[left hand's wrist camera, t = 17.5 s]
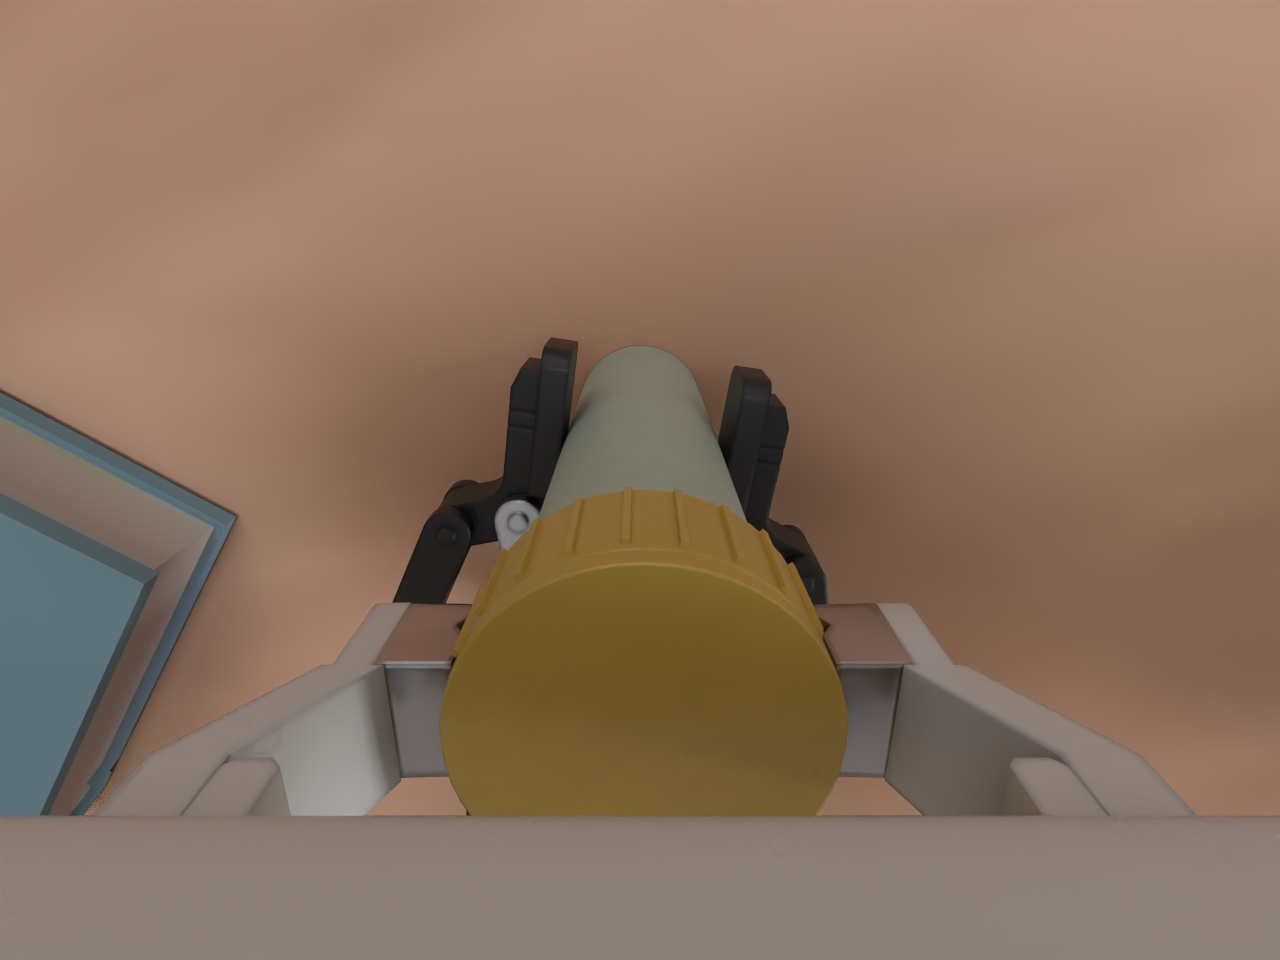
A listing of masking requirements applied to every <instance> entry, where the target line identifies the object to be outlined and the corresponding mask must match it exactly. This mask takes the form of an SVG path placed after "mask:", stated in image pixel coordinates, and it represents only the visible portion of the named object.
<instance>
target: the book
mask: <svg viewBox="0 0 1280 960" xmlns="http://www.w3.org/2000/svg"><path fill="white" fill-rule="evenodd" d="M235 518H236V517H235V516H233V515H231V514H230V513H228V512H226V511H224V510H222V509H220V508H218V507H216V506H214V505H213V504H211V503H209V502H207V501H205V500H203V499H201V498H199V497H197V496H195V495H194V494H192V493H190V492H188V491H186V490H184V489H182V488H180V487H178V486H177V485H175V484H173V483H171V482H169V481H167V480H165V479H163V478H161V477H159V476H158V475H156V474H154V473H152V472H150V471H148V470H146V469H144V468H142V467H141V466H139V465H137V464H135V463H133V462H131V461H129V460H127V459H125V458H124V457H122V456H120V455H118V454H116V453H114V452H112V451H110V450H108V449H106V448H105V447H103V446H101V445H99V444H97V443H95V442H93V441H91V440H89V439H88V438H86V437H84V436H82V435H80V434H78V433H76V432H74V431H72V430H71V429H69V428H67V427H65V426H63V425H61V424H59V423H57V422H55V421H53V420H52V419H50V418H48V417H46V416H44V415H42V414H40V413H38V412H36V411H35V410H33V409H31V408H29V407H27V406H25V405H23V404H21V403H19V402H18V401H16V400H14V399H12V398H10V397H8V396H6V395H4V394H2V393H0V816H83V815H84V814H85V813H86V811H87V810H88V809H89V807H90V806H91V804H92V803H93V802H94V800H95V799H96V798H97V796H98V795H99V794H100V792H101V791H102V789H103V788H104V787H105V785H106V783H107V781H108V779H109V777H110V775H111V773H112V772H111V771H110V769H111V768H112V767H113V765H114V764H115V763H116V761H117V760H118V758H119V757H120V755H121V752H122V750H123V748H124V746H125V744H126V742H127V740H128V738H129V736H130V734H131V732H132V730H133V728H134V726H135V724H136V722H137V720H138V718H139V715H140V713H141V711H142V709H143V707H144V705H145V703H146V701H147V699H148V697H149V695H150V693H151V691H152V689H153V687H154V685H155V683H156V681H157V679H158V676H159V674H160V672H161V670H162V668H163V666H164V664H165V662H166V660H167V658H168V656H169V654H170V652H171V650H172V648H173V646H174V644H175V642H176V639H177V637H178V635H179V633H180V631H181V629H182V627H183V625H184V623H185V621H186V619H187V617H188V615H189V613H190V611H191V609H192V607H193V605H194V602H195V600H196V598H197V596H198V594H199V592H200V590H201V588H202V586H203V584H204V582H205V580H206V578H207V576H208V574H209V572H210V570H211V568H212V566H213V563H214V561H215V559H216V557H217V555H218V553H219V551H220V549H221V547H222V545H223V543H224V541H225V539H226V537H227V535H228V533H229V531H230V529H231V526H232V524H233V522H234V520H235Z"/></svg>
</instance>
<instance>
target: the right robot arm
mask: <svg viewBox="0 0 1280 960" xmlns="http://www.w3.org/2000/svg"><path fill="white" fill-rule="evenodd" d="M577 350H578V341H572V340H565V339H558V338H552V337H551V338H550V339H549V341H548V342H547V343H546V345H545V346H544V349H543V353H542V358H541V359H538V358H531V357H530V358H529V359H528V360H527V361H526V362H525V364H524V365H523V366H522V367H521V369H520V371H519V373H518V375H517V377H516V378H515V380H514V382H513V384H512V386H511V392H510V404H509V416H508V428H507V440H506V452H505V464H504V476H502V477H501V478H499V479H497V480H494V481H490V482H484V483H477V482H475V481H472V480H461V481H458V482H456V483H455V484H453V485H452V487H451V488H450V489H449V491H448V492H447V493H446V495H445V497H444V499H443V502H442V503H441V505H440V506H439V508H438V509H437V510H436V511H434V512H433V513H432V515H431V516H430V517H429V519H428V520H427V521H426V523H425V525H424V527H423V530H422V532H421V534H420V537H419V539H418V542H417V544H416V547H415V549H414V551H413V554H412V556H411V559H410V561H409V563H408V566H407V568H406V571H405V573H404V576H403V578H402V580H401V583H400V585H399V588H398V590H397V593H396V595H395V597H394V600H393V602H392V603H405V602H411V603H412V604H413V603H442V604H445V603H446V601H447V599H448V597H449V594H450V592H451V590H452V588H453V585H454V583H455V581H456V579H457V576H458V574H459V572H460V570H461V567H462V565H463V563H464V561H465V558H466V556H467V554H468V552H469V549H470V547H471V546H473V545H478V544H484V543H489V542H494V541H499V545H500V549H501V551H502V549H503V548H505V549H506V550H509V549H510V547H511V546H512V545H513V544H514V543H515V542H516V541H517V540H518V539H519V538H520V537H521V536H522V535H523V534H524V533H525V532H527V531H528V530H529V529H530V527H531V524H532V521H534V520H535V519H536V518H538V517H539V514H540V511H541V509H542V506H543V503H544V500H545V497H546V494H547V491H548V488H549V485H550V482H551V479H552V477H553V474H554V471H555V468H556V465H557V462H558V459H559V456H560V453H561V450H562V448H563V445H564V442H565V439H566V436H567V433H568V428H569V420H570V411H571V402H572V394H573V385H574V377H575V368H576V359H577ZM788 430H789V425H788V419H787V413H786V408H785V406H784V405H783V404H782V403H781V401H780V400H779V399H778V397H777V396H776V395H775V394H771V381H770V379H769V378H768V377H767V376H766V374H765V373H764V372H763V371H762V370H761V369H755V368H748V367H741V366H735V367H734V368H733V371H732V374H731V378H730V383H729V388H728V393H727V398H726V403H725V408H724V413H723V418H722V423H721V428H720V433H719V438H718V444H719V447H720V449H721V452H722V455H723V458H724V460H725V463H726V466H727V469H728V471H729V474H730V477H731V480H732V482H733V485H734V488H735V491H736V493H737V496H738V499H739V501H740V504H741V507H742V510H743V512H744V515H745V518H746V521H747V522H748V523H749V524H751V525H752V526H753V527H754V528H756V529H757V530H758V531H759V532H760V531H761V530H762V529H764V530H765V531H766V532H767V533H768V535H769V537H770V540H771V542H772V544H773V546H774V547H775V548H776V549H777V550H778V552H779V553H780V554H781V555H782V557H783V558H784V560H785V561H786V563H787V565H788V564H790V563H792V562H793V564H794V565H795V567H796V569H797V571H798V573H799V576H800V578H801V580H802V582H803V584H804V587H805V589H806V591H807V593H808V595H809V597H810V600H811V602H812V604H813V605H824V604H828V598H827V584H826V577H825V574H824V572H823V570H822V568H821V566H820V564H819V563H818V561H817V559H816V557H815V555H814V553H813V551H812V549H811V547H810V545H809V543H808V542H807V540H806V538H805V536H804V534H803V533H802V531H801V530H800V529H798V528H797V527H795V526H792V525H781V524H779V523H777V522H775V521H773V520H771V519H770V518H768V516H769V511H770V507H771V502H772V498H773V494H774V490H775V485H776V481H777V477H778V473H779V468H780V464H781V460H782V456H783V449H784V447H785V443H786V439H787V434H788ZM466 816H471V815H470V814H469V812H468V811H467V812H466Z"/></svg>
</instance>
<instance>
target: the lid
mask: <svg viewBox="0 0 1280 960" xmlns="http://www.w3.org/2000/svg"><path fill="white" fill-rule="evenodd" d="M823 630H824V628H823V626H822V624H821V621H820V619H819V617H818V615H817V613H816V611H815V608H814V606H813V604H812V602H811V600H810V597H809V595H808V593H807V591H806V589H805V587H804V584H803V582H802V580H801V578H800V576H799V573H798V571H797V569H796V567H795V565H794V564H793V562H792V563H790V564H788V565H787V563H786V561H785V560H784V558H783V557H782V555H781V554H780V553H779V552H778V550H777V549H776V548H775V547H774V546H773V544H772V542H771V540H770V537H769V535H768V533H767V532H766V531H765V530H764V529H762V530H761V531H760V532H759V531H758V530H757V529H756V528H754V527H753V526H752V525H751V524H749V523H748V522H746V521H745V520H743V519H742V518H740V517H739V516H737V515H736V514H734V513H732V512H730V509H729V506H727V505H725V504H722V505H721V507H720V506H718V505H716V504H714V503H711V502H708V501H705V500H702V499H699V498H696V497H693V496H689V495H684V494H682V490H676V489H675V490H674V492H668V491H655V490H632V487H625V488H624V491H619V492H613V493H607V494H601V495H597V496H594V497H591V498H587V499H584V500H583V497H578V498H576V499H575V501H574V503H573V504H571V505H568V506H566V507H564V508H562V509H559V510H557V511H555V512H554V513H552V514H551V515H549V516H547V517H546V518H544V519H542V520H540V519H539V518H536V519H535V520H534V521H532V524H531V527H530V529H529V530H528V531H527V532H525V533H524V534H523V535H522V536H521V537H520V538H519V539H518V540H517V541H516V542H515V543H514V544H513V545H512V546H511V547H510V549H509V550H506V549H505V548H503V549H502V551H501V552H500V553H499V556H498V558H497V560H496V563H495V565H494V567H493V570H492V572H491V574H490V577H489V579H488V581H487V584H486V586H483V585H481V586H480V589H479V591H478V593H477V595H476V598H475V600H474V602H473V605H472V607H471V609H470V611H469V614H468V616H467V618H466V620H465V623H464V625H463V627H462V630H461V632H460V634H459V636H458V639H457V641H456V643H455V645H454V648H453V650H452V653H451V656H453V657H456V660H455V662H454V665H453V667H452V669H451V672H450V674H449V677H448V680H447V683H446V687H445V690H444V693H443V696H442V702H441V710H440V717H439V730H440V744H441V750H442V755H443V760H444V765H445V767H446V770H447V773H448V776H449V779H450V781H451V784H452V786H453V788H454V790H455V792H456V793H457V795H458V797H459V799H460V801H461V803H462V804H463V806H464V807H465V808H466V810H467V811H468V812H469V814H470V815H471V816H815V815H816V814H817V813H818V812H819V810H820V809H821V808H822V806H823V805H824V803H825V801H826V800H827V798H828V796H829V794H830V793H831V791H832V789H833V787H834V785H835V782H836V780H837V777H838V775H839V772H840V770H841V767H842V762H843V758H844V754H845V749H846V744H847V729H848V720H847V710H846V701H845V697H844V693H843V690H842V686H841V682H840V679H839V677H838V674H837V672H836V670H835V666H834V664H833V662H832V660H831V658H830V655H829V653H828V651H827V649H826V647H825V644H824V642H823V640H822V639H823V634H824V631H823Z"/></svg>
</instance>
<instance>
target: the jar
mask: <svg viewBox="0 0 1280 960" xmlns="http://www.w3.org/2000/svg"><path fill="white" fill-rule="evenodd" d="M625 487H632V490H655V491H668V492H674V490H675V489H676V490H682V494H684V495H689V496H693V497H696V498H699V499H702V500H705V501H708V502H711V503H714V504H716V505H718V506H720V507H721V505H722V504H725V505H727V506H729V509H730V512H732V513H734V514H736V515H737V516H739V517H740V518H742V519H743V520H745V521H746V518H745V515H744V512H743V510H742V507H741V504H740V501H739V499H738V496H737V493H736V491H735V488H734V485H733V482H732V480H731V477H730V474H729V471H728V469H727V466H726V463H725V460H724V458H723V455H722V452H721V449H720V447H719V444H718V441H717V438H716V436H715V433H714V430H713V427H712V425H711V422H710V419H709V416H708V414H707V411H706V408H705V406H704V403H703V400H702V397H701V395H700V392H699V389H698V386H697V384H696V381H695V379H694V377H693V375H692V374H691V372H690V371H689V369H688V368H687V367H686V366H685V365H684V364H683V363H682V362H681V361H680V360H679V359H678V358H677V357H675V356H674V355H672V354H670V353H669V352H667V351H664V350H662V349H659V348H655V347H651V346H631V347H626V348H622V349H619V350H617V351H615V352H612V353H611V354H609V355H607V356H606V357H604V358H603V359H602V360H601V361H600V362H599V363H598V364H597V365H596V366H595V367H594V368H593V369H592V371H591V372H590V374H589V375H588V377H587V379H586V381H585V384H584V387H583V390H582V392H581V395H580V398H579V401H578V404H577V407H576V410H575V413H574V416H573V419H572V421H571V424H570V427H569V430H568V433H567V436H566V439H565V442H564V445H563V448H562V450H561V453H560V456H559V459H558V462H557V465H556V468H555V471H554V474H553V477H552V479H551V482H550V485H549V488H548V491H547V494H546V497H545V500H544V503H543V506H542V509H541V511H540V514H539V517H538V518H539V519H540V520H542V519H544V518H546V517H547V516H549V515H551V514H552V513H554V512H555V511H557V510H559V509H562V508H564V507H566V506H568V505H571V504H573V503H574V501H575V499H576V498H578V497H583V500H584V499H587V498H591V497H594V496H597V495H601V494H607V493H613V492H619V491H624V488H625ZM746 522H747V521H746Z"/></svg>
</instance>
